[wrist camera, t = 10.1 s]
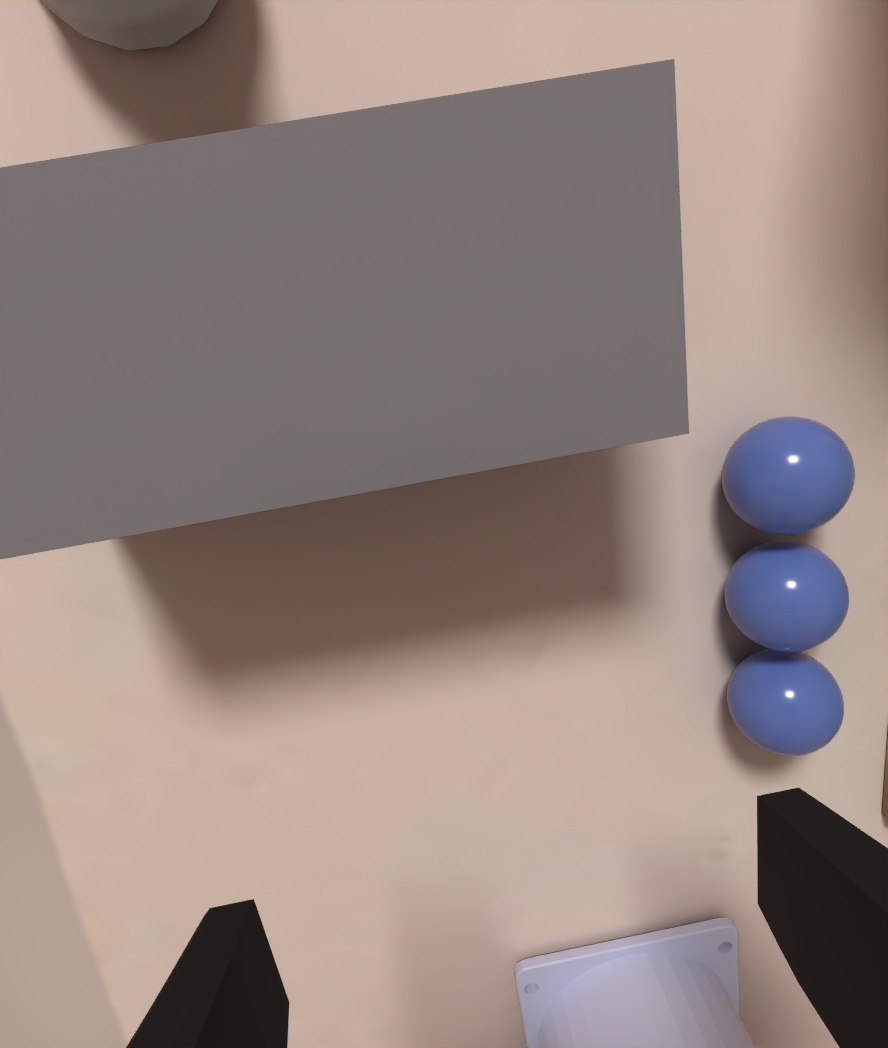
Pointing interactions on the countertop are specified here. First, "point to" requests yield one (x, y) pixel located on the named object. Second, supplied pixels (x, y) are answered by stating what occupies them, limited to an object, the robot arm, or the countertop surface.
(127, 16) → the rook chess piece
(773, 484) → the marble
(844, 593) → the marble
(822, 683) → the marble
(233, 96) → the countertop surface
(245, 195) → the gray block
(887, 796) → the cork trivet
